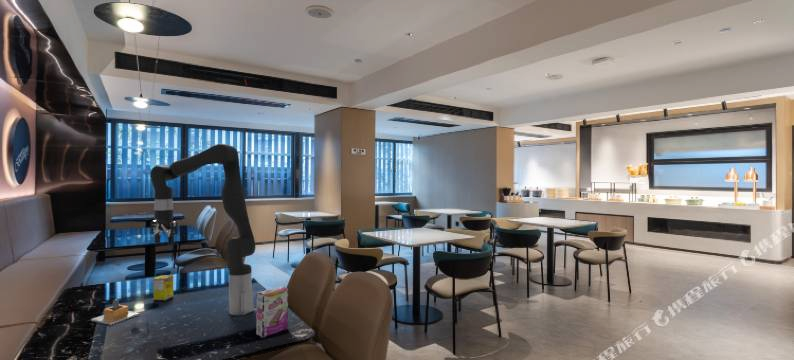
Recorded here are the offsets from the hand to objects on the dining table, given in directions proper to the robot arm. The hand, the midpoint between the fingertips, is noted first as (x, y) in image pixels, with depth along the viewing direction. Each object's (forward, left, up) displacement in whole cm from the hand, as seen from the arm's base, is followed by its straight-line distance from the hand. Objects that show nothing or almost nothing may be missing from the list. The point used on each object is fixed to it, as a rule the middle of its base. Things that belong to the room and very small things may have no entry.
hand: (164, 243), depth 179 cm
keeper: (+3, +20, -28) cm, 34 cm away
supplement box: (+6, -4, -28) cm, 29 cm away
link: (+3, +20, -27) cm, 34 cm away
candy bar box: (-67, +7, -28) cm, 73 cm away
